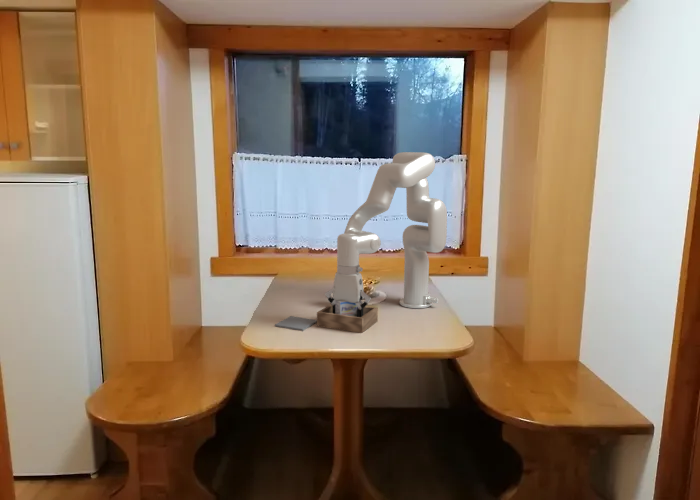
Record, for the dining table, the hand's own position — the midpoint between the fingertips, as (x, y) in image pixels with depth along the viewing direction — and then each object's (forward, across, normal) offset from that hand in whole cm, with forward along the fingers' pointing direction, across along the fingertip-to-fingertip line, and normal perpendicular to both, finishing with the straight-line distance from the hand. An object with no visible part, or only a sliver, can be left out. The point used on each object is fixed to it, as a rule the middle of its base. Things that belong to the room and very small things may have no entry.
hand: (347, 317), depth 195 cm
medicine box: (+2, 0, 0) cm, 2 cm away
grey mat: (+2, +16, +8) cm, 18 cm away
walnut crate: (+2, 0, 0) cm, 2 cm away
